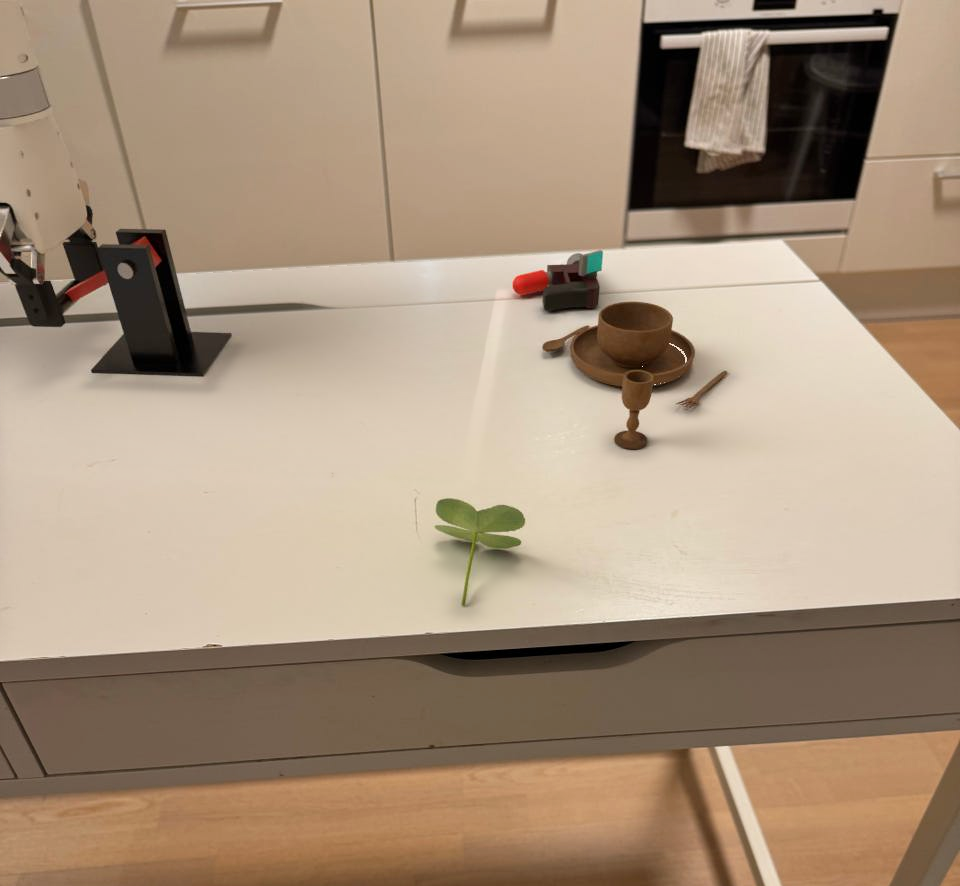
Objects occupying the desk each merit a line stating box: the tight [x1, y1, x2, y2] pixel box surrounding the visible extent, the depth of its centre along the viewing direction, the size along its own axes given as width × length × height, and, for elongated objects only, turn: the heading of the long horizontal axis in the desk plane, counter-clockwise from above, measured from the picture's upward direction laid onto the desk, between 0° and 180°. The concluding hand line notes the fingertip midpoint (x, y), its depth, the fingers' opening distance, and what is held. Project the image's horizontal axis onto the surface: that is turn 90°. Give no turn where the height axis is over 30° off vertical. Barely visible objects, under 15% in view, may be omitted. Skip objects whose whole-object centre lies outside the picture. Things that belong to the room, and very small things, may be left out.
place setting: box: [541, 301, 728, 450], centre depth 80 cm, size 18×20×6 cm
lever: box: [55, 236, 162, 315], centre depth 81 cm, size 11×5×2 cm, turn 85°
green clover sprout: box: [434, 497, 526, 607], centre depth 60 cm, size 7×8×7 cm
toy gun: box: [512, 249, 604, 312], centre depth 96 cm, size 10×12×5 cm
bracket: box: [90, 228, 232, 378], centre depth 82 cm, size 11×9×12 cm
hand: (71, 304), depth 83 cm, fingers open, 9 cm apart
